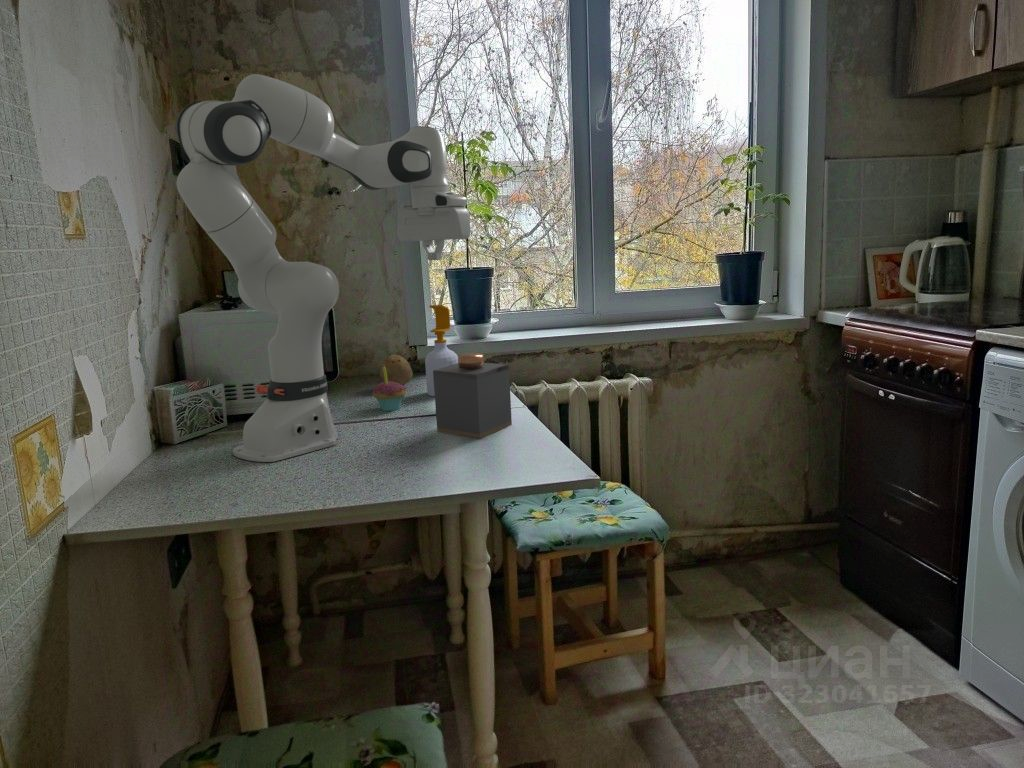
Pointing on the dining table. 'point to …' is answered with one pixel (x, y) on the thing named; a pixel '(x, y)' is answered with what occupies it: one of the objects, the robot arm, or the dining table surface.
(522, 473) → the dining table surface
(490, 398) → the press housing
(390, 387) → the cupcake
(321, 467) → the dining table surface
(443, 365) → the soap bottle
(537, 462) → the dining table surface
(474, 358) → the plunger
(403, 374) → the natural sponge
